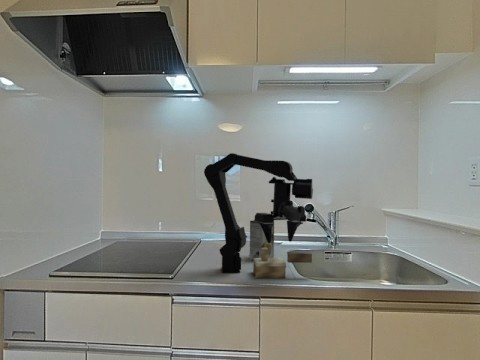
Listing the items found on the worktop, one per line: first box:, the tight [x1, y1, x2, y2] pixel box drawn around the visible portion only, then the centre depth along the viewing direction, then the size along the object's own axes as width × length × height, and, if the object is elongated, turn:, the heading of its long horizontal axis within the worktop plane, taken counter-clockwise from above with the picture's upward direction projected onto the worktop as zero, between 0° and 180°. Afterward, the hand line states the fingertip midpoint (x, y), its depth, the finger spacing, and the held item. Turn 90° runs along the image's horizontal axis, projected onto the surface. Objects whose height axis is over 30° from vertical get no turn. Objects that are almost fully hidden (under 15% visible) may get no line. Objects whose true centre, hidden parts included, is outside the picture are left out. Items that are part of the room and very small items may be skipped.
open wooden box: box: [252, 260, 287, 279], centre depth 128 cm, size 10×8×4 cm
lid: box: [253, 248, 287, 267], centre depth 128 cm, size 10×8×5 cm
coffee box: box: [249, 219, 275, 261], centre depth 153 cm, size 9×6×16 cm
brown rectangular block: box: [286, 252, 313, 264], centre depth 126 cm, size 8×2×3 cm, turn 95°
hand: (279, 242), depth 128 cm, fingers open, 9 cm apart
